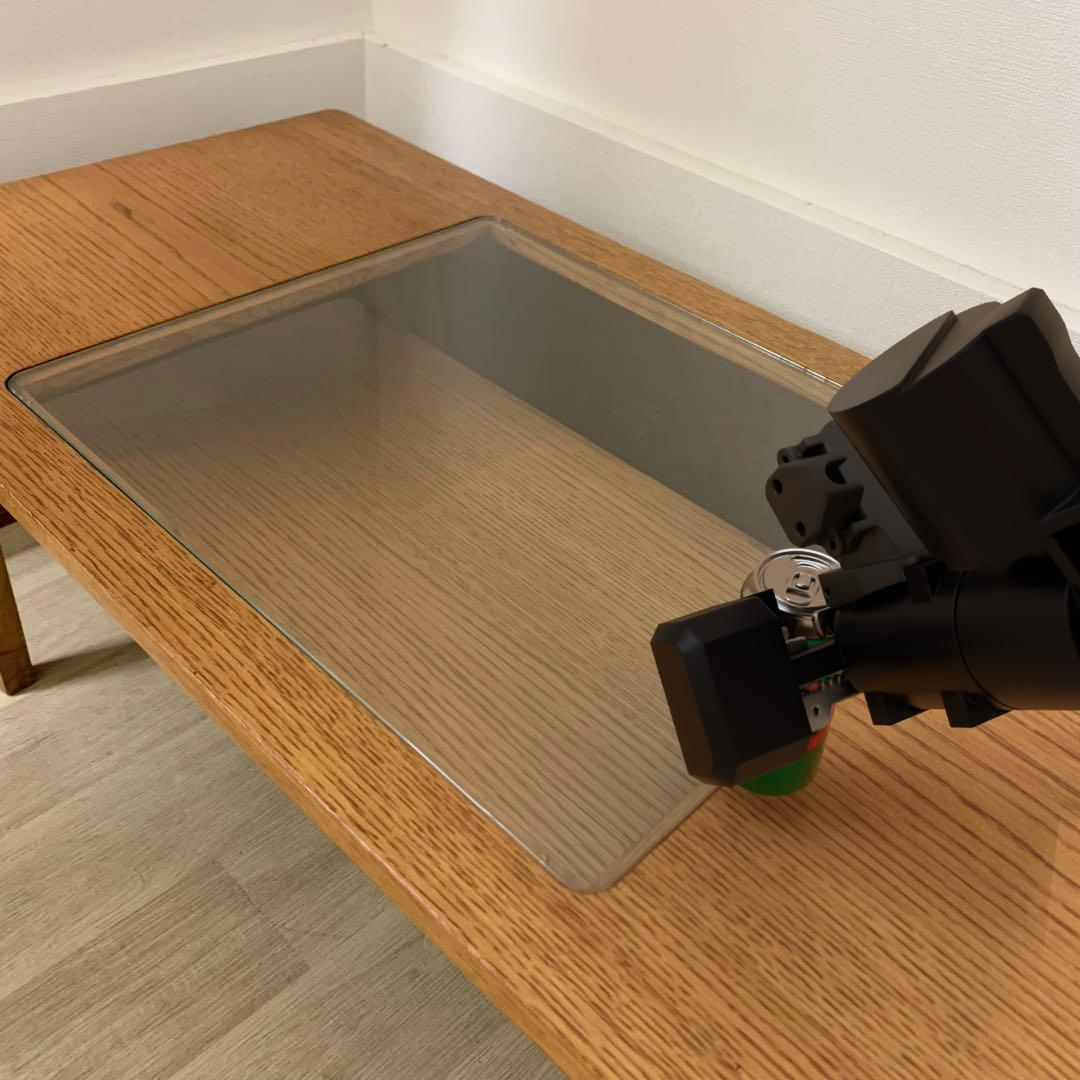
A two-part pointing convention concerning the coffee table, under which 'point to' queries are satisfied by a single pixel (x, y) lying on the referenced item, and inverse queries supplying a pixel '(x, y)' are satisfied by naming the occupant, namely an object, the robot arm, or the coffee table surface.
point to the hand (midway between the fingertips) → (763, 645)
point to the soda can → (797, 602)
